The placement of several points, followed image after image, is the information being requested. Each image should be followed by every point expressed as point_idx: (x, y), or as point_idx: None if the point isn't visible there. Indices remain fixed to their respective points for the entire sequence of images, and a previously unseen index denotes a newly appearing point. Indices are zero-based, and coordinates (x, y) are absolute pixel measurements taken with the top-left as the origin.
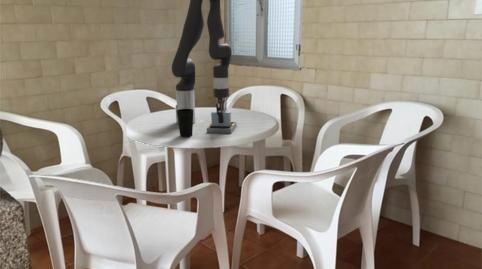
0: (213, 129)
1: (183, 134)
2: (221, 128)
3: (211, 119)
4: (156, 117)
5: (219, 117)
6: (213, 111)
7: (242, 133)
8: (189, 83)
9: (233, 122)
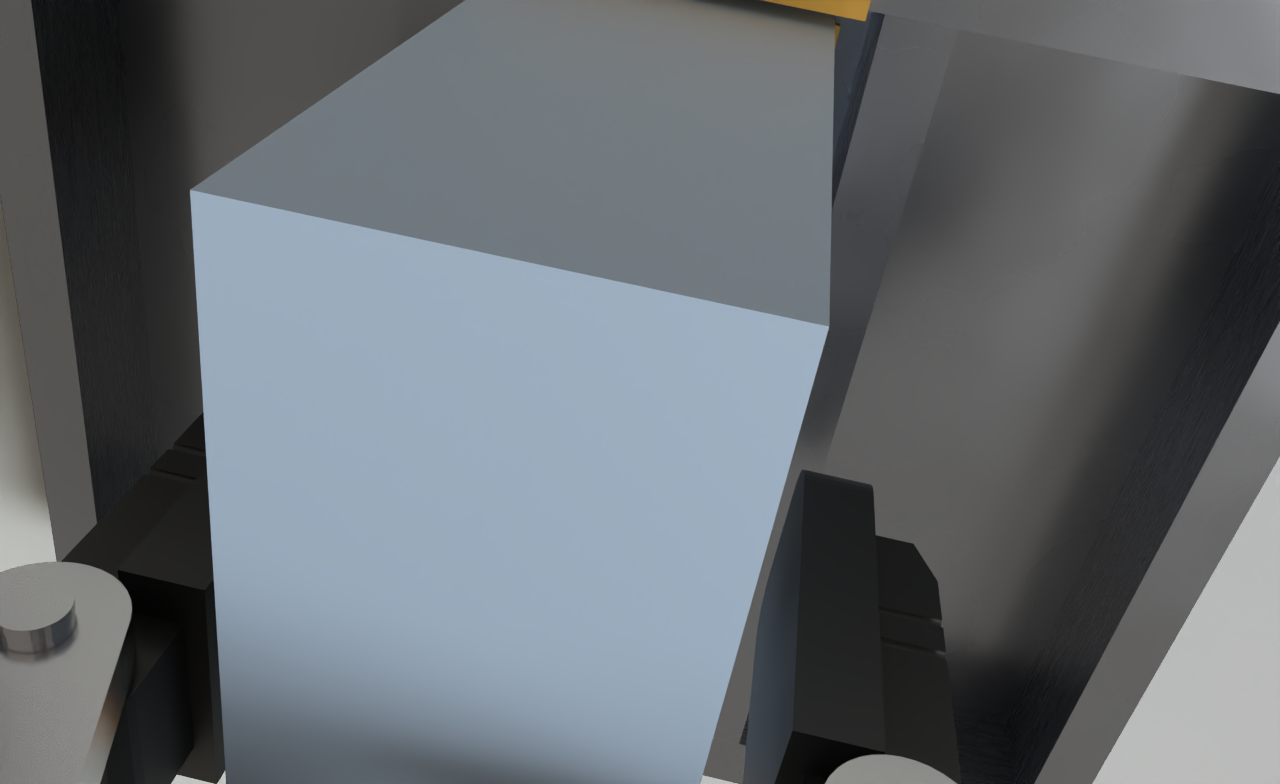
0: (11, 55)
1: None
2: (53, 367)
3: (434, 23)
4: None
5: (90, 555)
6: (632, 399)
7: None
8: None
9: (1032, 777)
